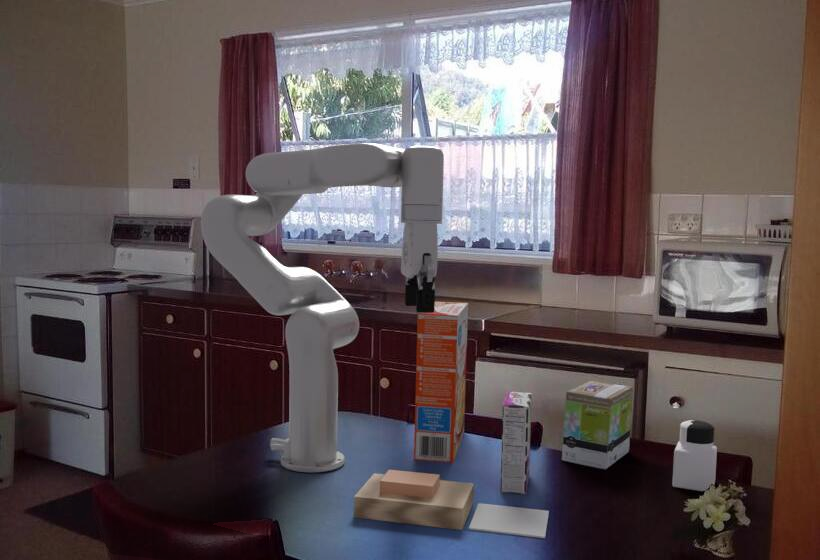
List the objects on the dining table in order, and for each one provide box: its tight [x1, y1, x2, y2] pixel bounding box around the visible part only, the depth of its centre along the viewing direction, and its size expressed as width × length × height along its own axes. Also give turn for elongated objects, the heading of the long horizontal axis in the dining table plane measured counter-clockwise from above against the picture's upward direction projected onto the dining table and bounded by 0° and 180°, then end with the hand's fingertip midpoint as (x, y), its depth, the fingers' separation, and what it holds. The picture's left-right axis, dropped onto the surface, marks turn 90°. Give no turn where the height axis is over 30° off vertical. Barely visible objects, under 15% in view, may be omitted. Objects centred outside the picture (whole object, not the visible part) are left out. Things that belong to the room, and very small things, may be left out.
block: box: [380, 469, 441, 498], centre depth 131 cm, size 9×6×2 cm, turn 77°
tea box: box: [561, 380, 634, 470], centre depth 163 cm, size 15×10×15 cm
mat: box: [468, 502, 550, 539], centre depth 128 cm, size 12×11×1 cm
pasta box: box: [413, 301, 469, 464], centre depth 168 cm, size 23×8×30 cm, turn 171°
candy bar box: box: [500, 390, 532, 495], centre depth 145 cm, size 11×5×16 cm, turn 168°
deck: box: [353, 472, 475, 531], centre depth 131 cm, size 18×12×4 cm, turn 77°
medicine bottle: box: [671, 419, 718, 492], centre depth 147 cm, size 7×7×12 cm
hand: (419, 308), depth 143 cm, fingers open, 9 cm apart
